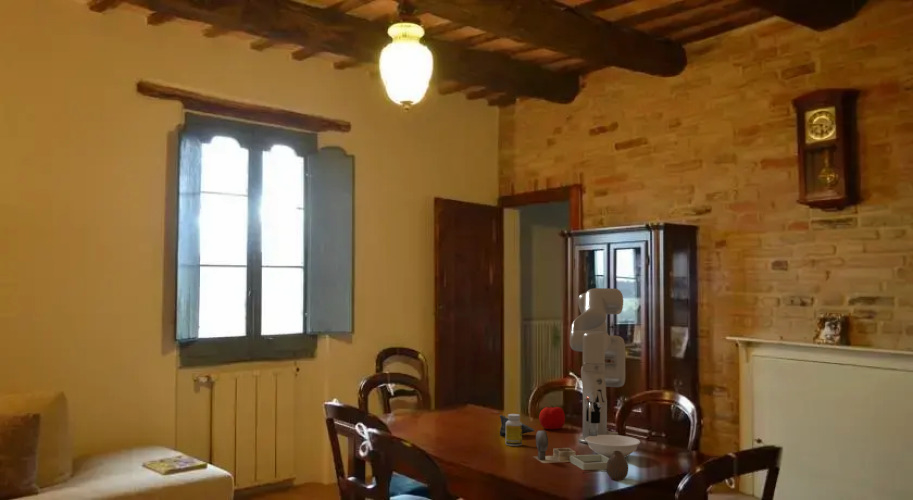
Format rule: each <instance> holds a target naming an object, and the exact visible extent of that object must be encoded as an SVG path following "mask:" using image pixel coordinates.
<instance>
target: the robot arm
mask: <svg viewBox="0 0 913 500" xmlns="http://www.w3.org/2000/svg"><path fill="white" fill-rule="evenodd" d="M577 304H578V308H579V312H580V315H578V316H577V317H576V318H575V319H574V320H573V321H572V323H571V325H570V330H569V346H570V348H571V350H573V351H575V352H581V353H582V366H581V369H580V377H581V384H582V385H581V386H582V436H579V437H578V442H580V443H583V444H586V445H587V444H588V443H587V441H586V440H585V438H586V437H588V436H589V435H588V425H589V401H590V402H592V411H591V423H597V435H619V432H618V431H613V432H612V431H609V430H608V426H607V422H608V421H607V420H608V413H607V412H608V398H607V387H608V388H609V387H610V388H620V387H621V388H622V387H623V386H624V385H625V383H626V344H625V340H624V338H623V337H621V336H619V335H610V334H609V333H608V332H607V322H606V321H607V315H620V314H621V313H622V312H623V309H624V296H623V293H622V291H621V290H619V289H618V288H611V287H610V288H607V287H606V288H603V287H596V288H595V287H594V288H590V289H588V290H587V291H585V292H584V293H580V294H579V296H578V297H577ZM605 360H612V361H613V362H606V361H605ZM586 397H588V398H589V401H587V400H586ZM596 400H597V401H598V402H595V401H596ZM595 404H596V405H595Z"/></svg>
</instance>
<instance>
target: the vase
mask: <svg viewBox="0 0 913 500" xmlns="http://www.w3.org/2000/svg"><path fill="white" fill-rule="evenodd" d="M608 458H609V457H608ZM606 471H607V472H606V473H607V475H608V476H609V477H610V479H611V480H614V479H615V481H622V480H624V479H626V478H627V476H628V473H629V463H628V460H627V459H626V457H624V456H623V455H622V452H621V451H614V452H613V454H612V456H611V457H610V458H609V459H608V462H607V469H606Z"/></svg>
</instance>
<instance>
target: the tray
mask: <svg viewBox="0 0 913 500" xmlns="http://www.w3.org/2000/svg"><path fill="white" fill-rule="evenodd" d="M608 459H609V457H606V456H604V455H602V454H579V455H578V454H576V455H573V456H570V462H569V463H571V464H572V465H575V466H576V467H578V468H579V469H581V470H582V471H584V472H582V473H583V474H586V473H587V474H591V473H590V472H591V470H592V471H593V470H595V471H596V470H603V471H602V473H607V462H608ZM604 470H605V471H604ZM585 471H586V472H585ZM587 471H588V472H587Z"/></svg>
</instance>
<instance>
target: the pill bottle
mask: <svg viewBox="0 0 913 500" xmlns="http://www.w3.org/2000/svg"><path fill="white" fill-rule="evenodd" d="M507 418H508V419H509V420H508V421H507V422H506V435H505V440H504V441H505V443H504V444H505V445H506V446H509V447H519V446H522V444H523V434H522V423H523V422H522V421H521V420H520V418H521V415H520V414H518V413H508V414H507Z"/></svg>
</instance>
